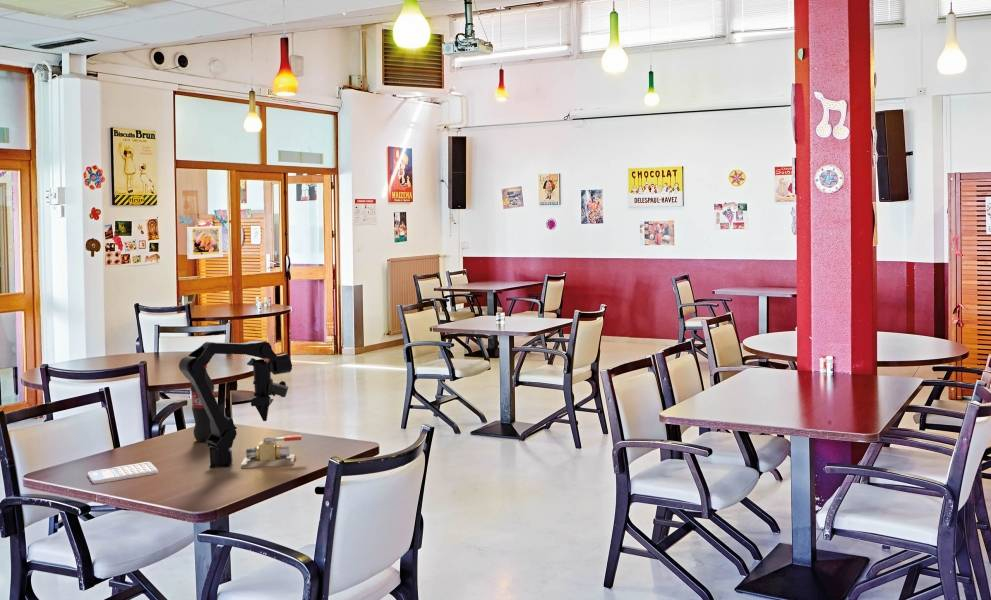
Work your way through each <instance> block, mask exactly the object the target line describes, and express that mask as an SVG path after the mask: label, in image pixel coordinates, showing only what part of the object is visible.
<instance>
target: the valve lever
mask: <svg viewBox="0 0 991 600" xmlns="http://www.w3.org/2000/svg"><path fill="white" fill-rule="evenodd" d="M263 441H264V442H271V441H276V442H281V441H284V442H290V441H291V442H292V441H293V442H295V441H302V434H300V435H299V434H297V435H285V436H281V437H280V436H279V437H270V436H269V437H264V438H263Z"/></svg>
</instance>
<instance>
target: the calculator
mask: <svg viewBox="0 0 991 600" xmlns="http://www.w3.org/2000/svg"><path fill="white" fill-rule="evenodd" d="M158 472H159V471H158V468H156V466H155V465H154V464H153V463H152V462H151V461H144V462H143V461H142V462H138V463H133V464H126V465H120V466H114V467H108V468H104V469H103V468H102V469H96V470H91V471H88V472H87V477H88V478H89V479H90V481H92V482H91V483H92V484H93V483H94V485H96V484H97V483H98V484H102V483H103V484H104V483H109V482H115V481H120V480H126V479H133V478H138V477H143V476H144V477H145V476H149V475H150V476H151V475H155V474H158Z"/></svg>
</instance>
